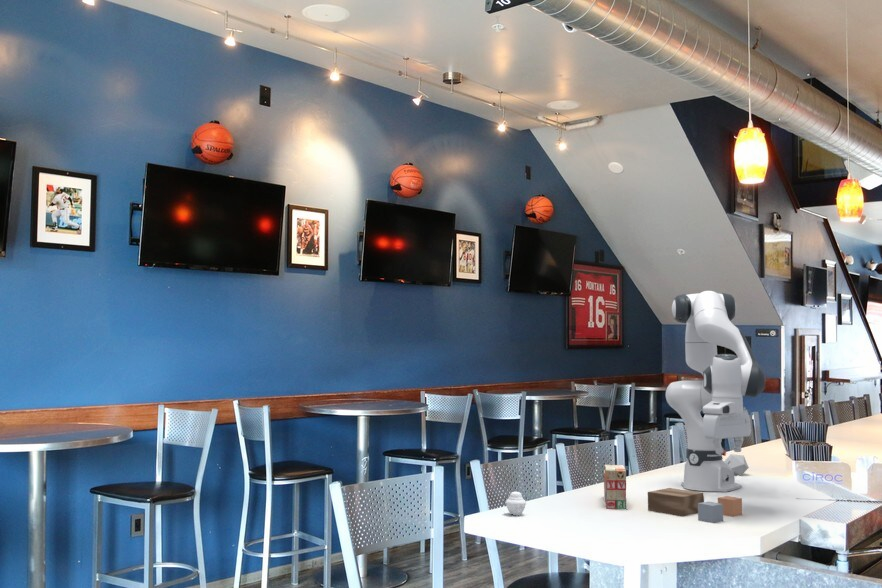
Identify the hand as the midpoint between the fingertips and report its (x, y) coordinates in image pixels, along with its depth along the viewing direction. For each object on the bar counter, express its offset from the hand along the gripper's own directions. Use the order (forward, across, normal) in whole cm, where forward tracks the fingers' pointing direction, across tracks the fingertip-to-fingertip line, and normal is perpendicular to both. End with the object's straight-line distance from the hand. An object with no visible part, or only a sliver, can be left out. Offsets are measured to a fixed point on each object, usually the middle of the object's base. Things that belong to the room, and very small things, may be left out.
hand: (728, 452), depth 242 cm
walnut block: (+19, +9, -13) cm, 24 cm away
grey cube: (+19, +13, +2) cm, 23 cm away
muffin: (+19, +53, -38) cm, 68 cm away
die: (+18, -76, -46) cm, 91 cm away
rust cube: (+18, 0, 0) cm, 19 cm away
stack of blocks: (+19, +14, -33) cm, 41 cm away
